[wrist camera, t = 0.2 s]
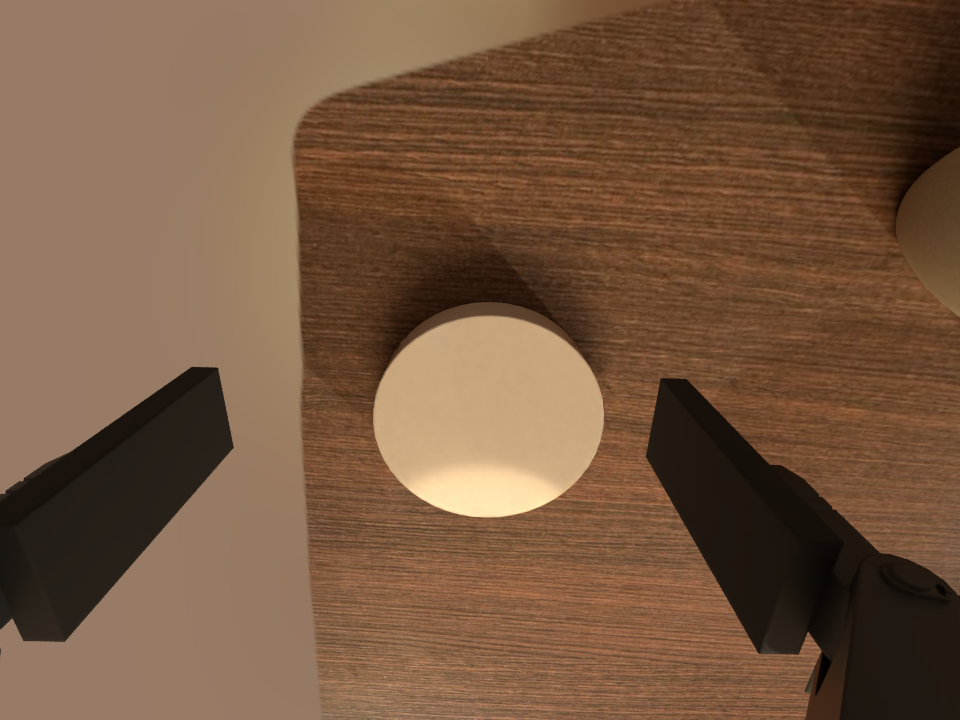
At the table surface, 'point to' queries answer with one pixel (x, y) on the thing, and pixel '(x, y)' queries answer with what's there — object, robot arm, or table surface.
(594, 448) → the small plate
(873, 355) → the table surface
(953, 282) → the flower pot
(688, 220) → the table surface
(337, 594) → the table surface
